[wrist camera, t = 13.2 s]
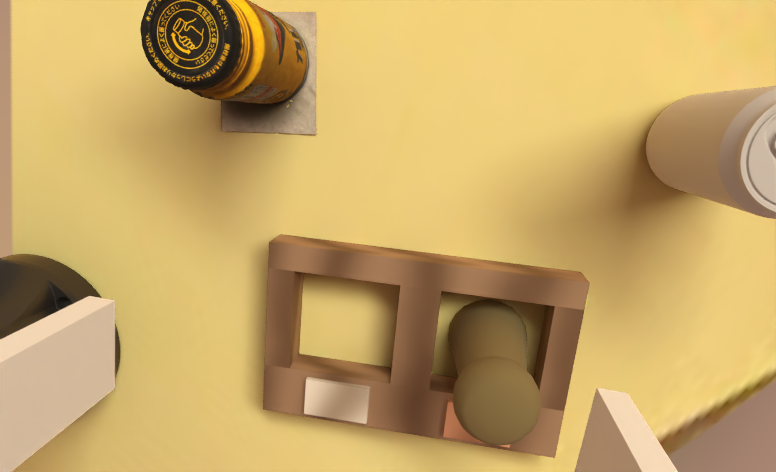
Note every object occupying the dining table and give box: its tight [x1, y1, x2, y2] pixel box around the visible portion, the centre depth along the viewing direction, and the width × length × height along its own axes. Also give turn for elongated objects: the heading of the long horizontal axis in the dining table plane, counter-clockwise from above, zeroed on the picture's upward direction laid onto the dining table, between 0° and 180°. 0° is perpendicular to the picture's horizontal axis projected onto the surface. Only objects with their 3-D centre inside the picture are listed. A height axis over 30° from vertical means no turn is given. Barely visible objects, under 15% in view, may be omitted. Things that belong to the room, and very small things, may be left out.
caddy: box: [263, 235, 590, 458], centre depth 39 cm, size 23×14×3 cm, turn 85°
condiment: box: [140, 0, 316, 135], centre depth 31 cm, size 7×8×12 cm
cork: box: [448, 300, 541, 446], centre depth 34 cm, size 6×6×11 cm
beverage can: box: [646, 86, 776, 219], centre depth 28 cm, size 6×6×12 cm
